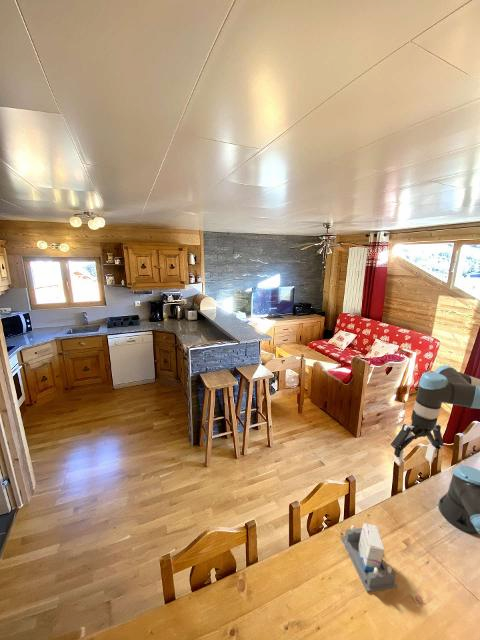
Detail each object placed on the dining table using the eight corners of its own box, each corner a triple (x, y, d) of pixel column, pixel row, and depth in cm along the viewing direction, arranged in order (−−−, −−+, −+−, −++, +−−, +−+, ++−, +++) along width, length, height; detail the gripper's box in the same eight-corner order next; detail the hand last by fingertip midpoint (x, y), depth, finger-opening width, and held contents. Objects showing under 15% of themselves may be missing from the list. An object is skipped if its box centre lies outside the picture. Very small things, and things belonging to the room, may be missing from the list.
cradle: (366, 534, 105) (369, 520, 103) (396, 587, 89) (401, 571, 87) (341, 538, 103) (343, 523, 101) (367, 592, 87) (370, 576, 85)
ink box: (379, 574, 91) (385, 549, 88) (364, 571, 92) (369, 547, 89) (371, 548, 100) (376, 524, 97) (357, 545, 100) (362, 522, 97)
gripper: (445, 405, 101) (433, 451, 107) (387, 409, 98) (377, 456, 103) (464, 417, 94) (450, 466, 100) (401, 422, 90) (390, 472, 96)
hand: (413, 461), depth 101 cm, fingers open, 13 cm apart
